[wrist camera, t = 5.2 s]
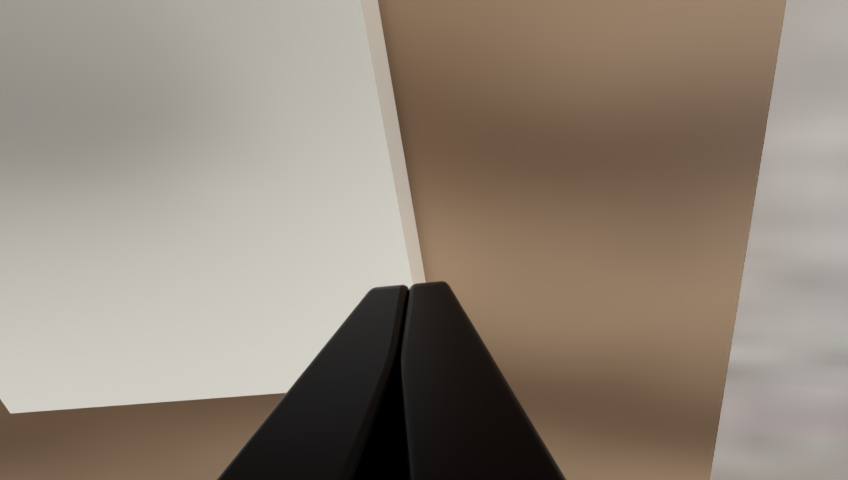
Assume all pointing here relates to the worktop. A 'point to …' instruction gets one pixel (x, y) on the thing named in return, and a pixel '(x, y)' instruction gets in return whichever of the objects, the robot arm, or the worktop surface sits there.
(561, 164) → the board
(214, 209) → the block
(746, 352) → the worktop surface
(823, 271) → the worktop surface
